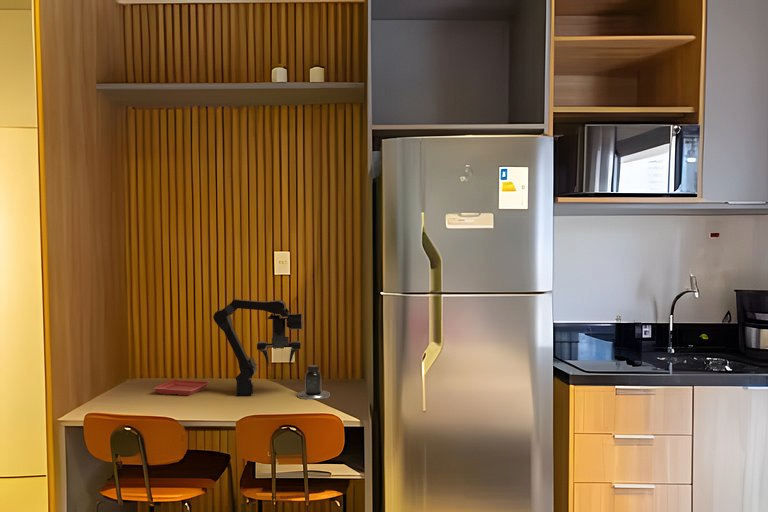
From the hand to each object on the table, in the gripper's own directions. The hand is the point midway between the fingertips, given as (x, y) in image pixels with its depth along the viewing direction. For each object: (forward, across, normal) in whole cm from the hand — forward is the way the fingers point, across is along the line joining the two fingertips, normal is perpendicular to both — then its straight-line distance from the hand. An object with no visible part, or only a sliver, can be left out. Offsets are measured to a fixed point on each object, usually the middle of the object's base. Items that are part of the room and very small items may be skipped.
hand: (278, 365), depth 285 cm
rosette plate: (+13, +15, -4) cm, 20 cm away
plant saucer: (+14, -43, +12) cm, 47 cm away
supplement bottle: (+12, +15, -4) cm, 20 cm away
